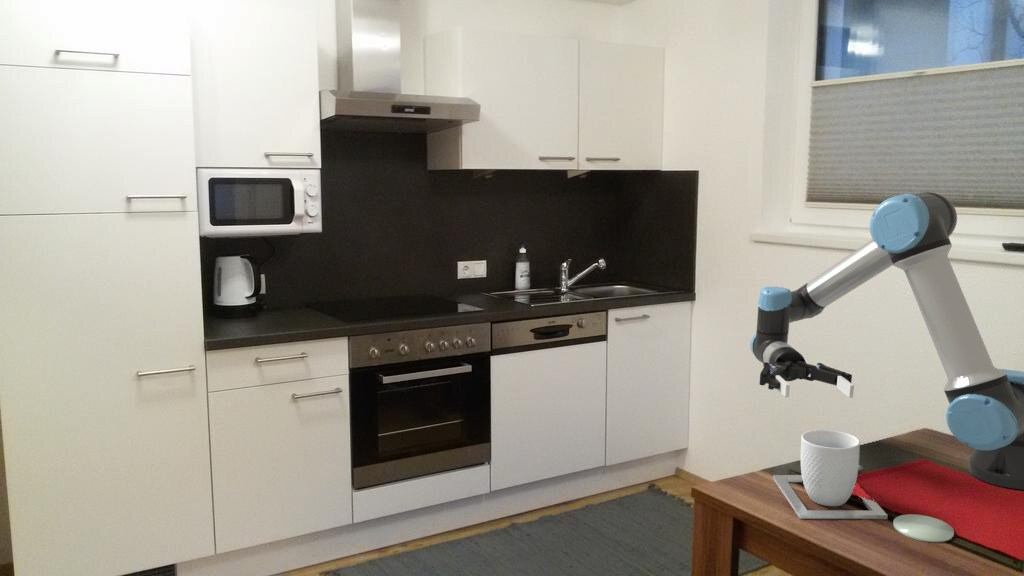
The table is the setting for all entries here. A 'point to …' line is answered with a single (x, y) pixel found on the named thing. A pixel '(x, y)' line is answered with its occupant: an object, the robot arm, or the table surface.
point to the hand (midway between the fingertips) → (819, 391)
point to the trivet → (923, 528)
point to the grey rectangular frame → (803, 513)
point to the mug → (829, 465)
